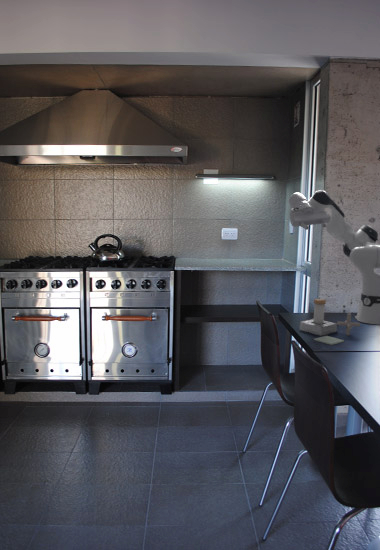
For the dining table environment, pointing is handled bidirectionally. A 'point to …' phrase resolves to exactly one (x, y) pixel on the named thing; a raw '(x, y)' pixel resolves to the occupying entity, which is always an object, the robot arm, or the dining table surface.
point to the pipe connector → (348, 324)
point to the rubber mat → (329, 340)
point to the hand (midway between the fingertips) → (316, 227)
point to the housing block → (318, 327)
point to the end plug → (319, 311)
